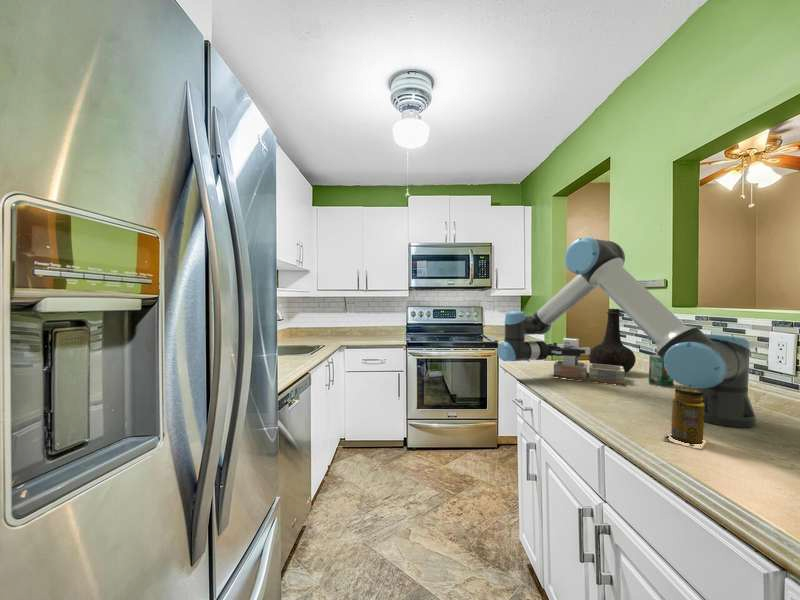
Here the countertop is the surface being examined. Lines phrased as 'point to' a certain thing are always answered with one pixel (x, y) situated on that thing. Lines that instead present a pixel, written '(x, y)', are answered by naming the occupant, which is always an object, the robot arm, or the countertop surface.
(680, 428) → the condiment
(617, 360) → the glass bottle
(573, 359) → the syrup box
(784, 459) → the countertop surface
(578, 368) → the socket board
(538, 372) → the countertop surface
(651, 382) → the canned tomato
